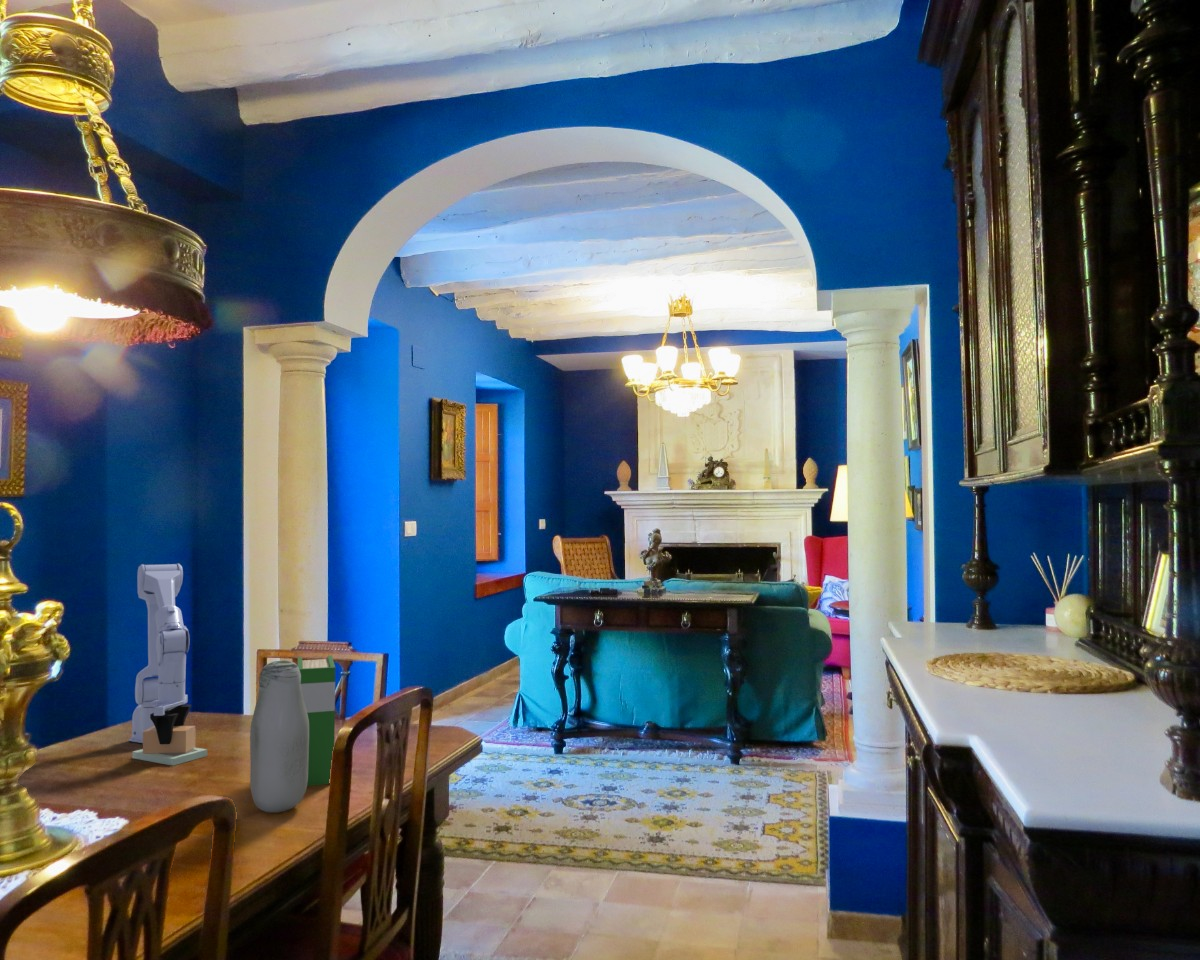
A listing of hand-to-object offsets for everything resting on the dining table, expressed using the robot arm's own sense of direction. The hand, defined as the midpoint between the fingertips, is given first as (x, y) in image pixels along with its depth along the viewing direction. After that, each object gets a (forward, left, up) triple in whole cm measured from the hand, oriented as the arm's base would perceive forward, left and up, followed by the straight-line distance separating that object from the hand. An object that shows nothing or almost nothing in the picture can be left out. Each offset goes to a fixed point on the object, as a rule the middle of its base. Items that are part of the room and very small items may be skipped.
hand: (170, 740), depth 199 cm
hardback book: (+40, +5, -4) cm, 40 cm away
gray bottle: (+52, -16, -4) cm, 55 cm away
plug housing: (0, 0, -2) cm, 2 cm away
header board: (0, 0, -4) cm, 4 cm away
